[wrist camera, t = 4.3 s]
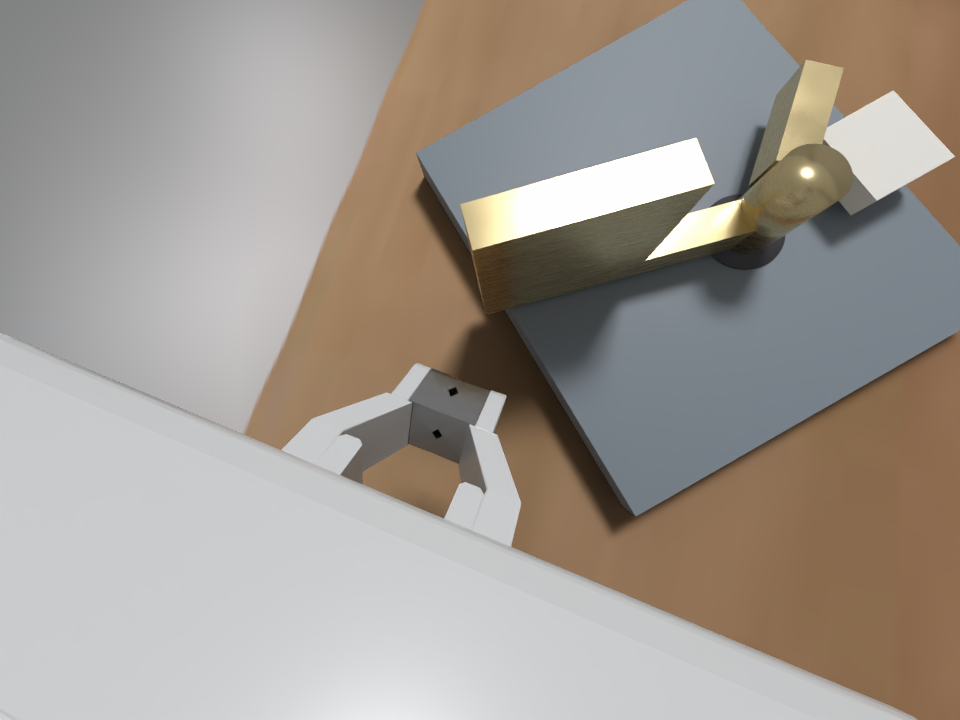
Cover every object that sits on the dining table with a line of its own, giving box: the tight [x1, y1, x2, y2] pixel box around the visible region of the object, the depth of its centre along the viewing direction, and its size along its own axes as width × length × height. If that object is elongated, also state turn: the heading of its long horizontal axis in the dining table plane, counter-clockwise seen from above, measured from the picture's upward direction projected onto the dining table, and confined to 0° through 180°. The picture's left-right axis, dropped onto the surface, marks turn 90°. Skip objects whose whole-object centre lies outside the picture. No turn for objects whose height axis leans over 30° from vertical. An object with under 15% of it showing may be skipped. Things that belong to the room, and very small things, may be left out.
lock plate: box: [416, 0, 960, 516], centre depth 19 cm, size 20×22×2 cm
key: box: [460, 60, 853, 315], centre depth 14 cm, size 19×6×7 cm, turn 120°
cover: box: [822, 91, 955, 215], centre depth 17 cm, size 4×4×1 cm
